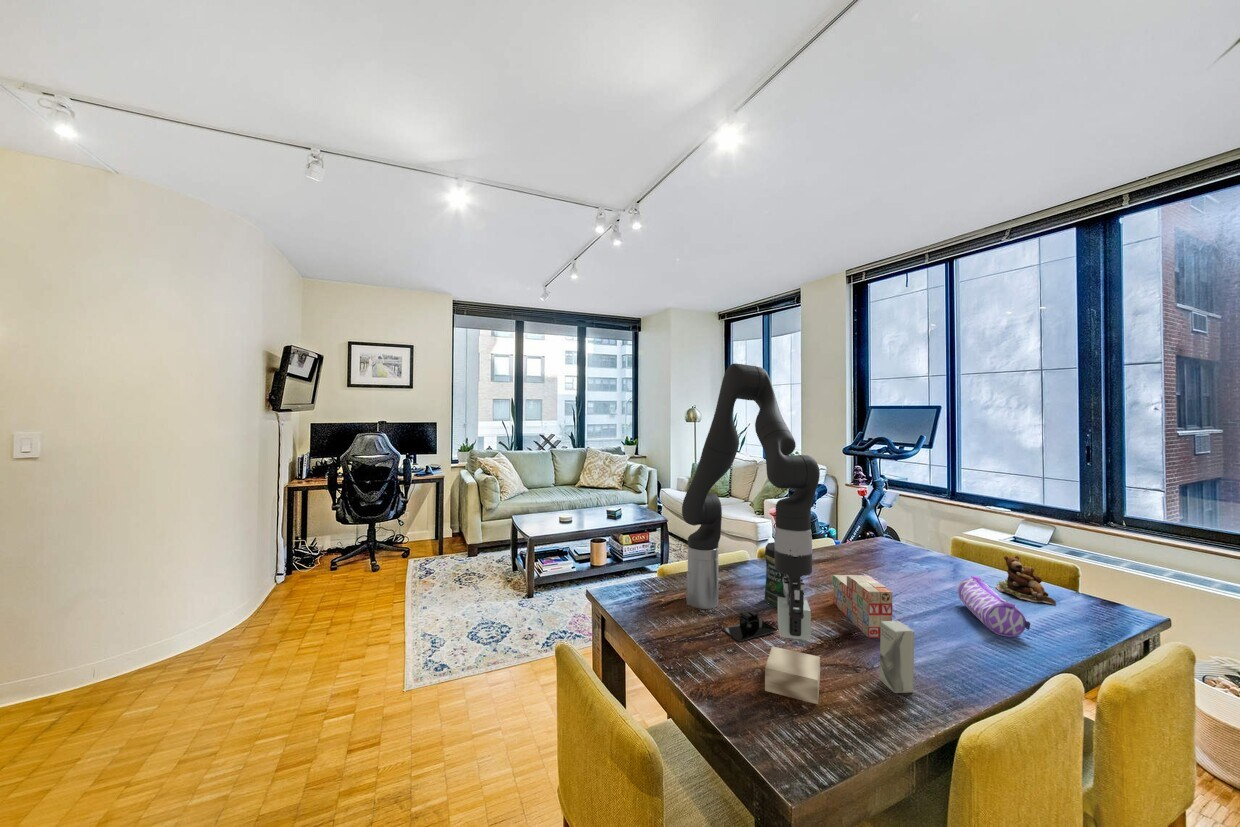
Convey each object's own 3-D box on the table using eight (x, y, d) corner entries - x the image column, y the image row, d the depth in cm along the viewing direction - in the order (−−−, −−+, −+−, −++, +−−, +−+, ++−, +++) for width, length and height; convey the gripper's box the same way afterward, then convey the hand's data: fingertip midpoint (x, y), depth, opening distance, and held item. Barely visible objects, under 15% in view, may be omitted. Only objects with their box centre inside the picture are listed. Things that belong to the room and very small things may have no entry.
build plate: (739, 642, 114) (738, 623, 114) (721, 629, 121) (720, 612, 121) (777, 630, 119) (776, 613, 119) (758, 619, 126) (757, 602, 126)
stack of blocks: (832, 605, 138) (832, 564, 139) (853, 605, 138) (853, 564, 138) (868, 638, 117) (868, 590, 117) (893, 639, 117) (892, 591, 117)
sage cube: (779, 636, 94) (779, 607, 94) (777, 624, 100) (777, 597, 100) (810, 640, 93) (810, 610, 93) (806, 627, 98) (806, 599, 99)
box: (878, 680, 98) (878, 620, 98) (897, 679, 98) (897, 619, 98) (895, 694, 93) (895, 631, 93) (915, 693, 93) (915, 630, 93)
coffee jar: (760, 601, 140) (760, 541, 140) (779, 598, 143) (779, 539, 144) (782, 614, 131) (782, 549, 132) (803, 609, 134) (803, 546, 135)
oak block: (765, 692, 94) (765, 667, 94) (771, 668, 103) (772, 646, 103) (817, 705, 89) (817, 680, 89) (820, 680, 98) (820, 656, 98)
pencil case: (1031, 642, 116) (1031, 605, 116) (988, 637, 118) (988, 600, 118) (988, 608, 137) (988, 576, 137) (953, 604, 139) (952, 573, 140)
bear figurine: (1013, 602, 141) (1012, 563, 141) (988, 586, 156) (988, 550, 156) (1067, 608, 137) (1066, 567, 138) (1036, 590, 152) (1036, 553, 152)
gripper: (772, 539, 105) (772, 612, 104) (777, 557, 91) (777, 641, 90) (807, 541, 103) (807, 616, 102) (817, 560, 89) (818, 646, 88)
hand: (793, 627), depth 96 cm, fingers closed on sage cube, 6 cm apart
